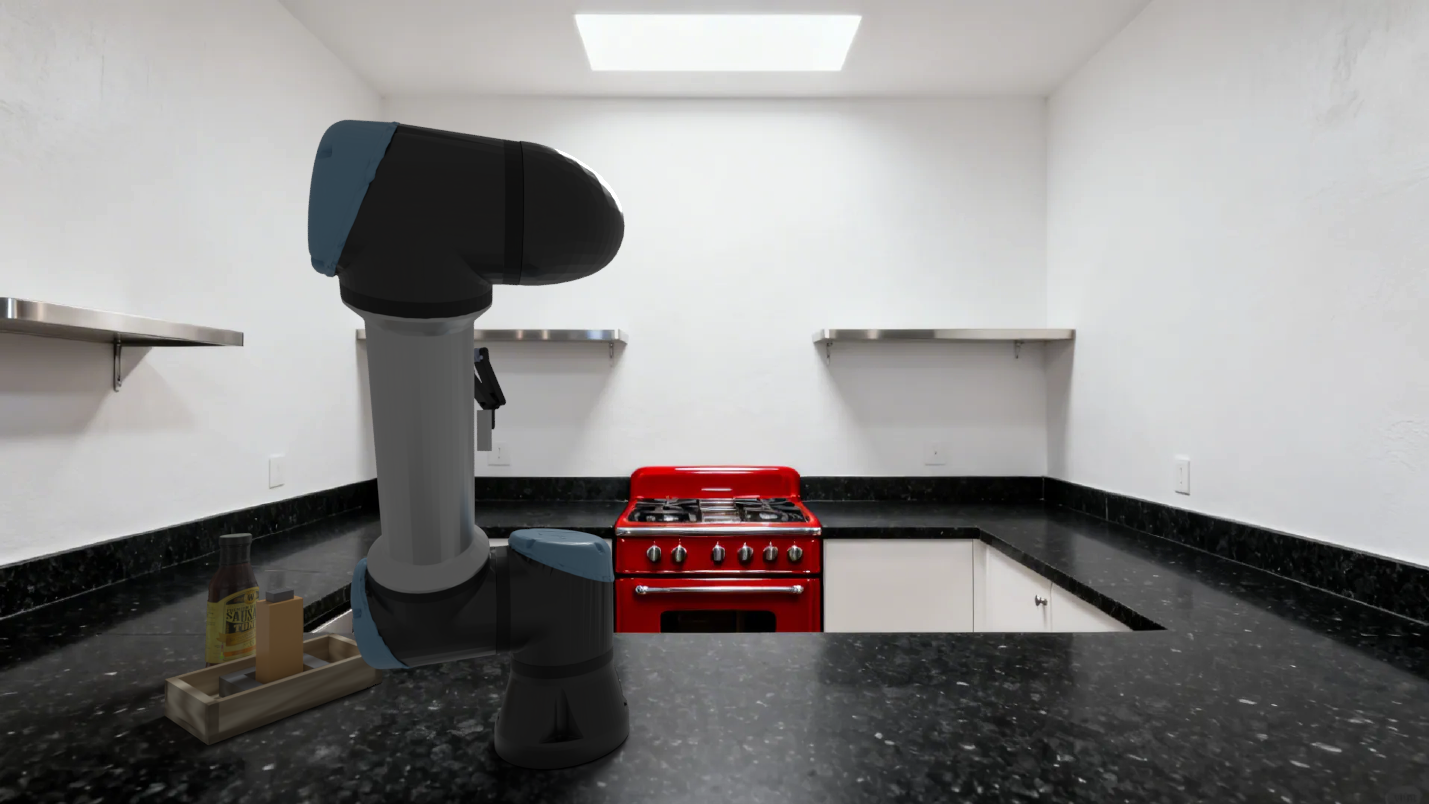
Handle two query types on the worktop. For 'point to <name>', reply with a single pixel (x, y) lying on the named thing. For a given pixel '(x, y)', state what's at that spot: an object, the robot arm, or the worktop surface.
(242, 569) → the sauce bottle
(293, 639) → the tan tall block
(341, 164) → the robot arm
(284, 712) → the walled box
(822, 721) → the worktop surface
